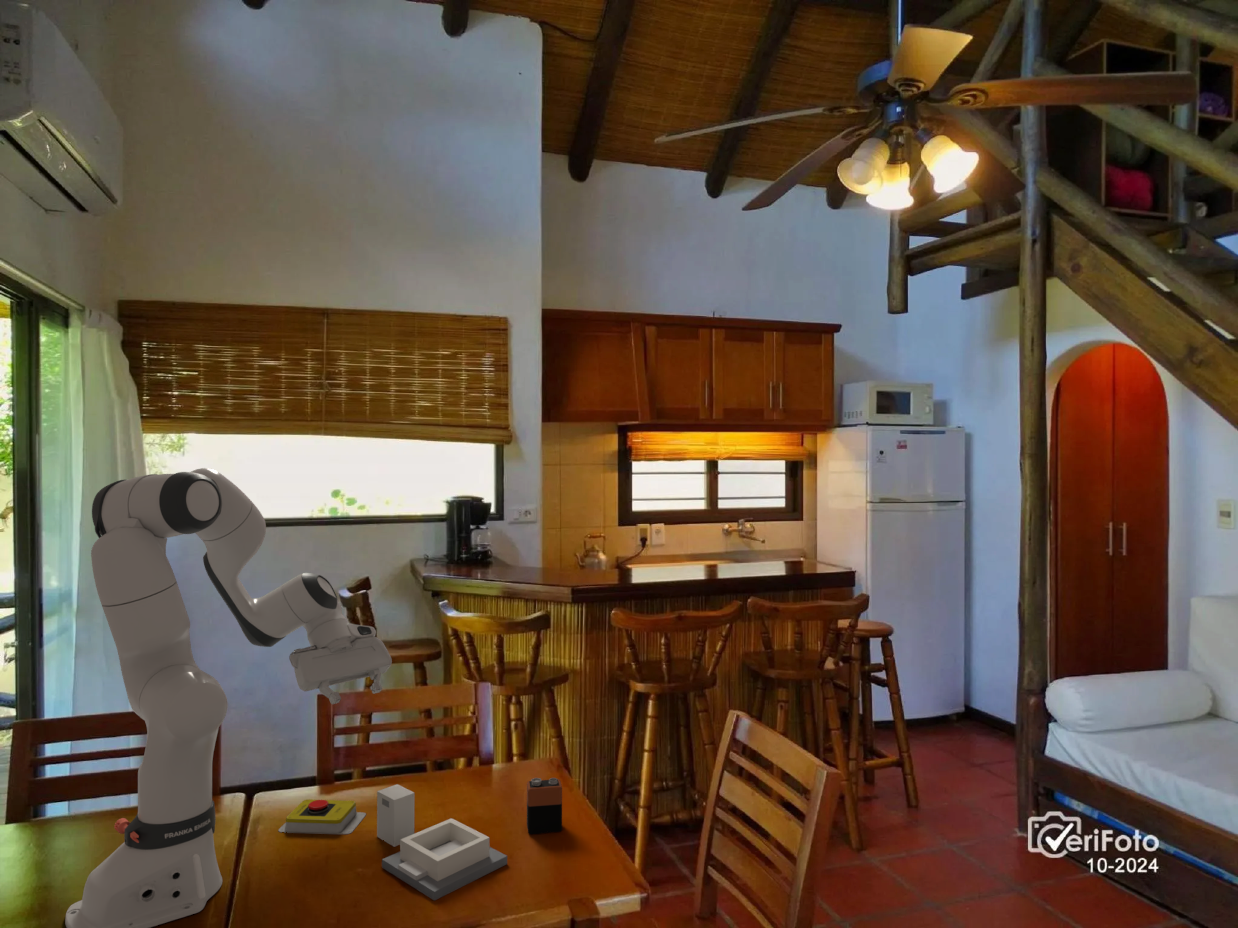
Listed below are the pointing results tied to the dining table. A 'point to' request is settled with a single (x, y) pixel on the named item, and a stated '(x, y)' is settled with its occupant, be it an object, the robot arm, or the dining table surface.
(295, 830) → the emergency button
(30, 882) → the dining table surface
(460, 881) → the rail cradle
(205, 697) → the robot arm
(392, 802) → the block
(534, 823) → the battery
